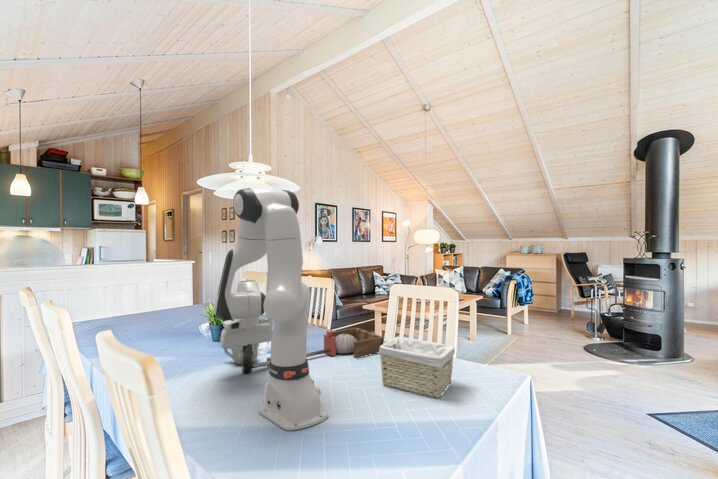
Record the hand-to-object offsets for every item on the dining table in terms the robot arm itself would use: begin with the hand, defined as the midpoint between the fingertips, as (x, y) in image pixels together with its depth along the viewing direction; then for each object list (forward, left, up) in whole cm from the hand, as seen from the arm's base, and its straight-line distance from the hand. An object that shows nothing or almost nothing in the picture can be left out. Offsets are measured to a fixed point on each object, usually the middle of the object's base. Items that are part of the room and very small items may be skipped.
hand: (247, 355), depth 139 cm
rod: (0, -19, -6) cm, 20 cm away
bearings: (0, -17, -7) cm, 18 cm away
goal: (0, -53, -7) cm, 53 cm away
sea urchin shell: (+1, -47, -7) cm, 47 cm away
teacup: (+13, -2, -7) cm, 15 cm away
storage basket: (-48, -46, -7) cm, 67 cm away
